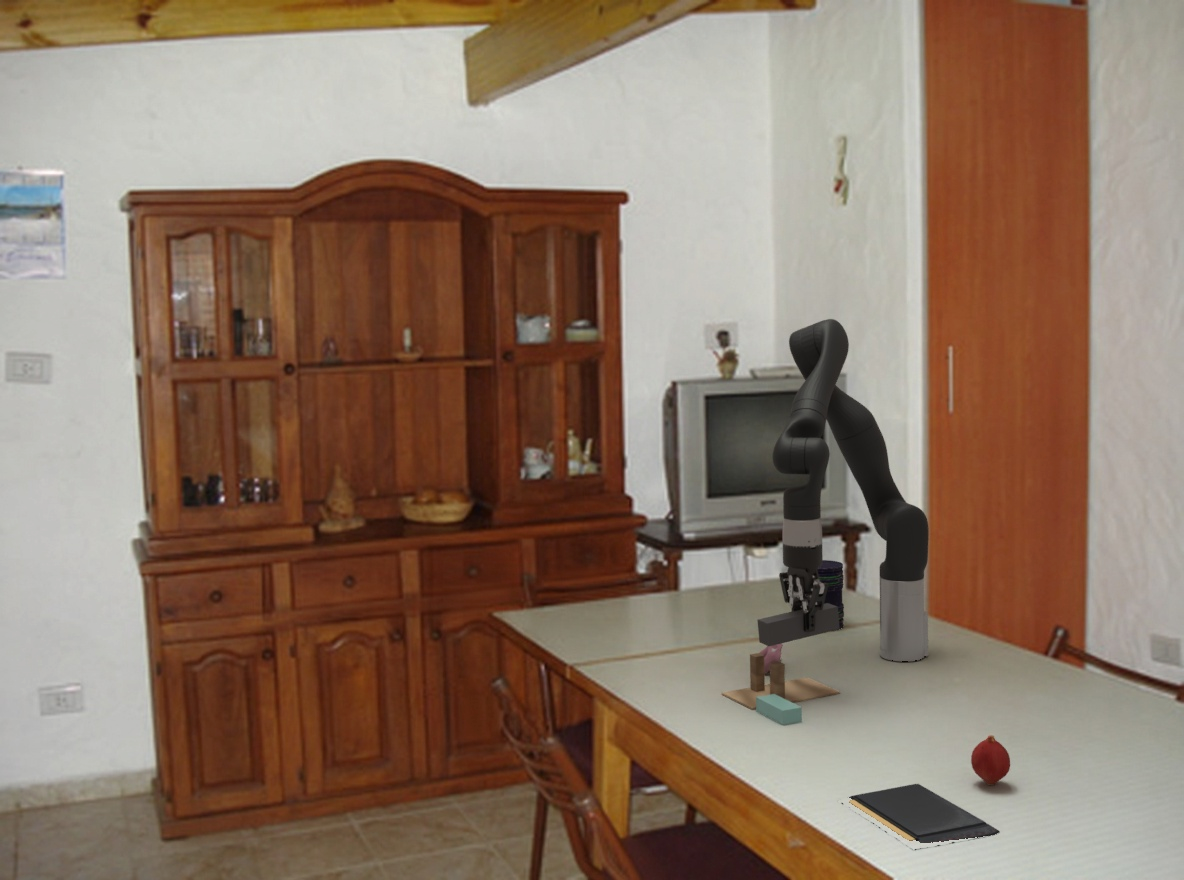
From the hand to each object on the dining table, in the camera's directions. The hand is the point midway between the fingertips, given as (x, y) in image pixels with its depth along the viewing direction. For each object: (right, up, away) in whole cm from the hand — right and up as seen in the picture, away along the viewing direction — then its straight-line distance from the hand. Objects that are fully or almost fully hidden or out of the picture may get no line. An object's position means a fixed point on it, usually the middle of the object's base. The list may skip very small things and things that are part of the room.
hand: (803, 628), depth 239 cm
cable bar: (-1, -1, 0) cm, 2 cm away
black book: (+7, -19, -58) cm, 61 cm away
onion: (+21, -17, -47) cm, 54 cm away
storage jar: (+14, -8, +53) cm, 56 cm away
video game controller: (-4, -12, +20) cm, 23 cm away
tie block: (-6, -15, -11) cm, 20 cm away
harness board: (-4, -13, +2) cm, 14 cm away
